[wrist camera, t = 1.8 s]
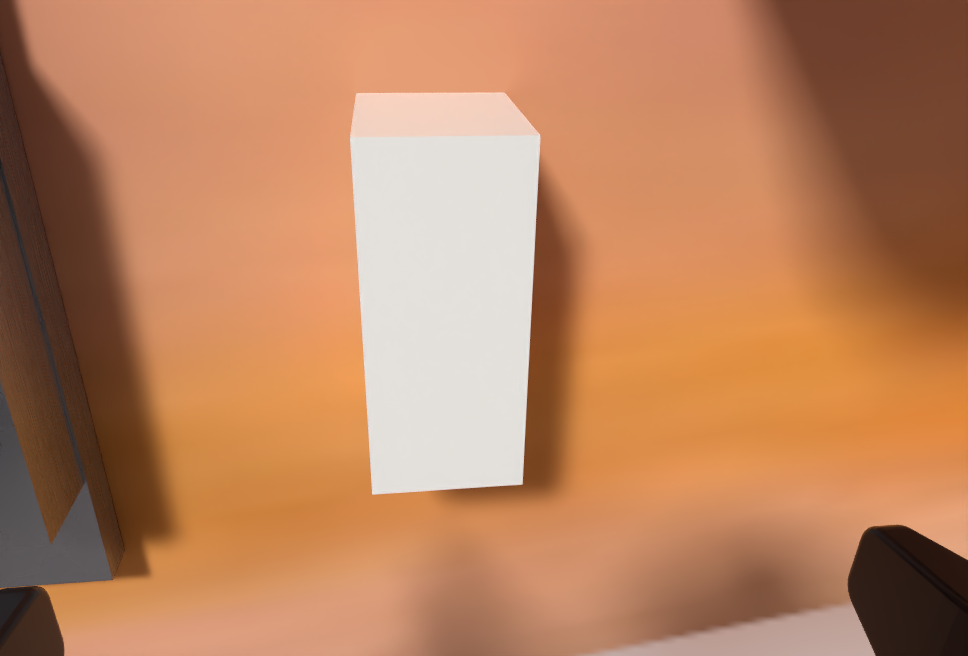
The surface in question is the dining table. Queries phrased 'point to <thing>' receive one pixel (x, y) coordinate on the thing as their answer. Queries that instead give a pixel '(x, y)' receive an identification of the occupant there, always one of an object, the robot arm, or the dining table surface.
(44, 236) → the rack
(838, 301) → the dining table surface
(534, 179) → the white rectangular prism
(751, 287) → the dining table surface
